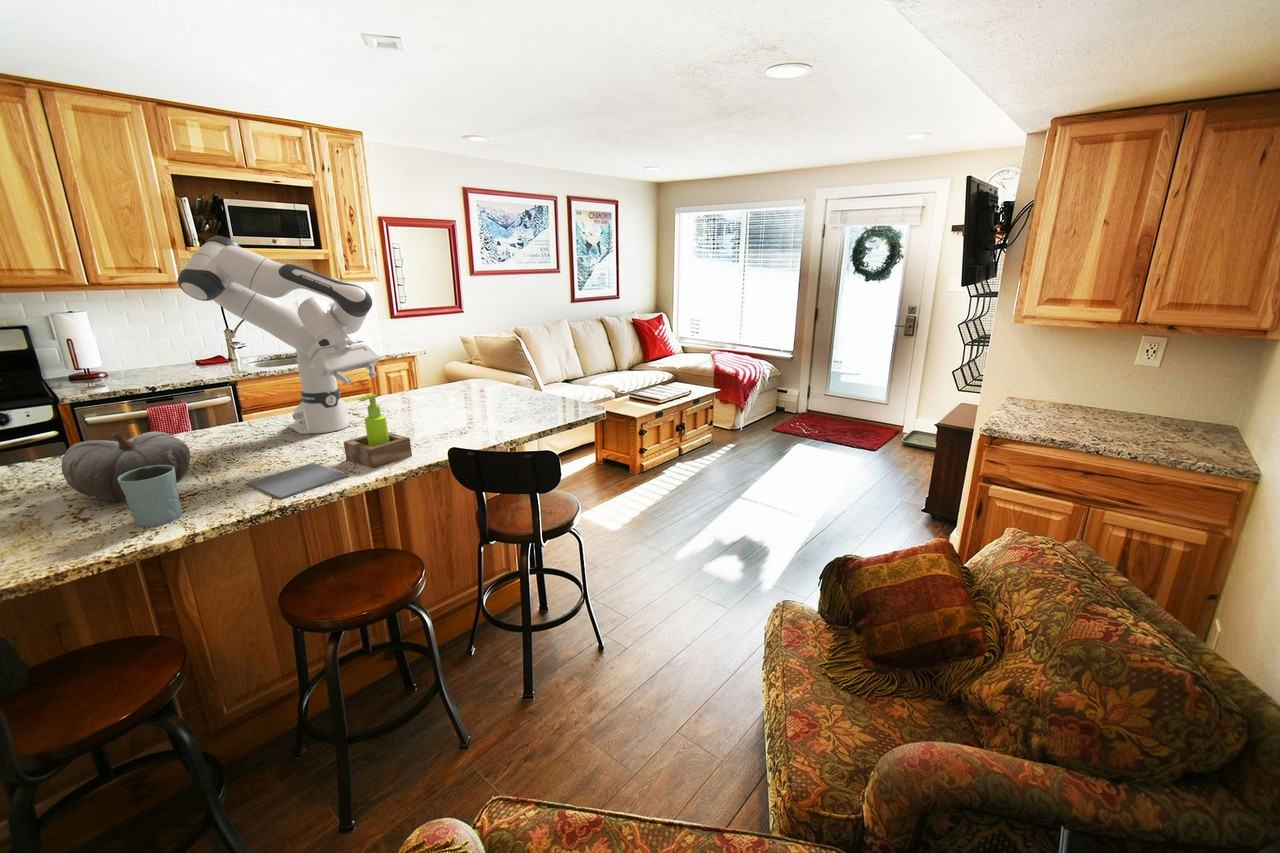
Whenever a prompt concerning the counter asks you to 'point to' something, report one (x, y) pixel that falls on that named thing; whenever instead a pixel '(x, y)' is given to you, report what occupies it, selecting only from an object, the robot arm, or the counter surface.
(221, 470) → the counter surface
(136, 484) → the blue gray cup
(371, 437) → the soap dispenser
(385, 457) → the box
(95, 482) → the gourd
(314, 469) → the slate mat
